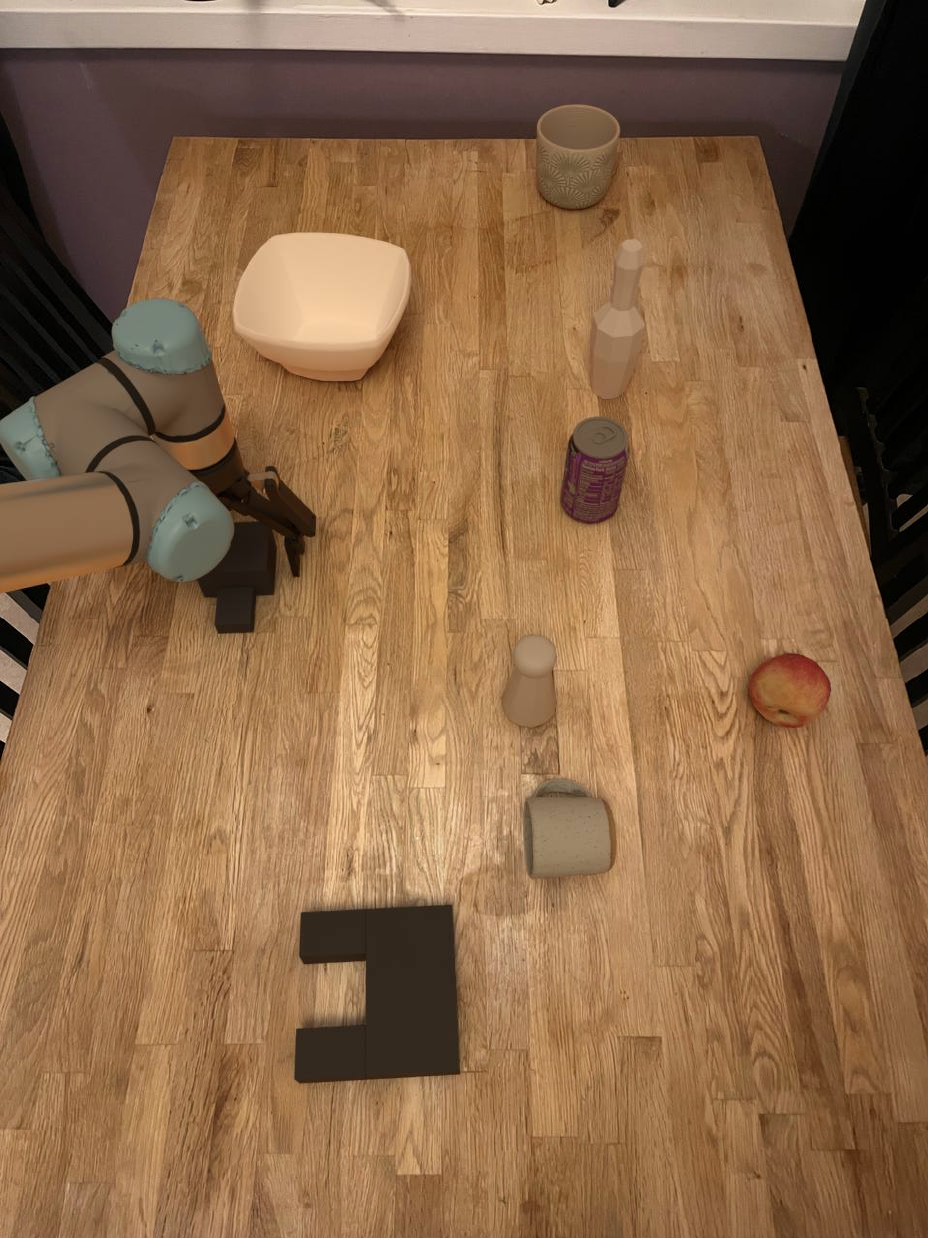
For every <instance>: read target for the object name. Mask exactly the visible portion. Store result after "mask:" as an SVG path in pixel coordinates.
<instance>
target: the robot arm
mask: <svg viewBox="0 0 928 1238" xmlns="http://www.w3.org/2000/svg"><path fill="white" fill-rule="evenodd" d="M111 338H112V342H113V344H112V347H113V349H114V350H112V351H111V352H109V353H107V354H105V355H103V356H102V357H101V358H100V359H99V360H98V361H96V362H94V363H92V364H90V365H89V366H87V367H85V368H84V369H82V370H80V371H79V372H76V373H74V374H73V375H71V376H70V377H68V378H66V379H65V380H63V381H61V382H60V383H58V384H56V385H54V386H52V387H50V388H49V389H47V390H46V391H44V392H41V393H40V394H38V395H37V396H35V395H33V396H31V397H30V398H29V400H28V401H27V402H25V403H23V404H22V405H21V406H19V407H18V408H16V409H14V410H12V412H11V413H10V414H7V415H6V416H5V417H3V418H2V419H0V445H1V447H2V449H3V450H4V452H5V453H6V455H7V456H8V458H9V460H10V461H11V462H12V463H13V465H14V466H15V468H16V469H17V470H18V472H19V473H20V474H21V475H22V476H23V478H24V479H25V480H22V481H15V482H7V483H1V484H0V594H5V593H9V592H14V591H18V590H22V589H27V588H31V587H35V586H40V585H44V584H48V583H49V584H50V583H53V582H58V581H62V580H67V579H72V578H76V577H81V576H84V575H89V574H93V573H98V572H102V571H106V570H111V569H116V568H121V567H127V566H132V565H136V564H141V563H147V564H148V567H149V569H150V570H152V571H153V572H154V573H157V574H158V575H160V576H161V577H162V578H164V579H166V580H168V581H171V582H177V583H189V582H193V581H197V579H198V578H200V577H202V576H204V575H205V574H207V573H208V572H210V571H211V570H212V569H213V568H215V567H216V566H217V565H218V564H219V563H220V561H221V560H222V559H223V558H224V556H225V555H226V553H227V551H228V550H229V548H230V545H231V540H232V538H233V535H234V522H235V521H234V519H233V516H232V514H231V512H232V511H234V512H236V513H238V514H239V515H241V516H243V517H248V516H249V517H250V518H252V519H254V520H255V521H259V522H261V523H262V524H264V525H266V526H267V527H269V528H271V529H272V530H273V532H276V533H278V534H279V535H280V536H282V537H284V538H283V546H284V549H285V554H286V556H287V561H288V565H289V568H290V572H291V575H292V578H300V571H301V556H304V555H305V552H306V539H305V536H306V537H307V538H314V537H316V534H317V515H316V514H315V513H314V512H313V511H312V510H311V509H310V508H309V507H308V506H307V505H306V504H305V503H304V502H303V501H302V500H301V499H300V498H299V496H298V495H296V493H294V491H292V489H290V488H289V486H288V485H287V484H286V483H285V482H284V481H283V480H282V479H281V477H280V473H279V472H278V469H277V467H276V466H274V465H267V466H266V467H265V468H264V472H259V473H251V472H250V471H249V470H247V469H246V467H245V466H244V462H243V459H242V458H243V457H242V455H241V452H240V448H239V445H238V442H237V438H236V436H235V433H234V429H233V425H232V422H231V419H230V415H229V410H228V408H227V405H226V402H225V400H224V399H225V398H224V396H223V393H222V390H221V386H220V381H219V379H218V375H217V371H216V369H215V364H214V361H213V352H212V348H211V345H210V344H209V343H208V340H207V336H206V334H205V331H204V328H203V327H202V325H201V322H200V321H199V318H198V316H197V314H196V313H195V312H194V311H193V310H192V308H190V307H189V306H187V305H186V304H184V303H182V302H180V301H177V300H174V299H171V298H164V297H154V298H153V297H152V298H147V299H143V300H139V301H136V302H134V303H132V304H130V305H129V306H127V307H126V308H124V309H123V310H122V311H121V313H120V314H119V317H118V318H116V319H115V320H114V321H113V324H112V327H111ZM257 490H259V491H260V492H261V494H260V493H259V492H257Z"/></svg>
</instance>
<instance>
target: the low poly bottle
mask: <svg viewBox="0 0 928 1238" xmlns="http://www.w3.org/2000/svg"><path fill="white" fill-rule="evenodd" d="M644 267H645V257H644V248H643V246H642V243H641V242H640V241H639V240H637V239H635V238H632V239H625V240H623V242H621V244H620V245H619V247H618V249H617V251H616V253H615V255H614V257H613V273H612V274H613V276H612V277H613V278H612V285H611V291H610V298H609V301H608V302H606V304H604V305H603V306H602V307H600V308H599V309H598V310H597V311H595V312H594V313H593V314H592V319H591V325H590V333H589V341H588V344H589V385H590V388H591V392H592V393H593V395H596V396H597V397H599V398H601V399H602V400H613V399H618V398H619V397H620V396H621V395H623V394H624V393H625V392H626V390H627V387H628V385H629V383H630V381H631V377H632V375H633V373H634V372H633V371H634V370H635V367H636V365H637V362H638V359H639V356H640V353H641V349H642V346H643V341H644V340H643V339H644V335H645V330H646V323H645V320H644V317H643V314H642V312H641V310H640V309H639V308H638V306H637V305H636V298H637V294H638V288H639V283H640V280H641V277H642V273H643V270H644Z"/></svg>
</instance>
